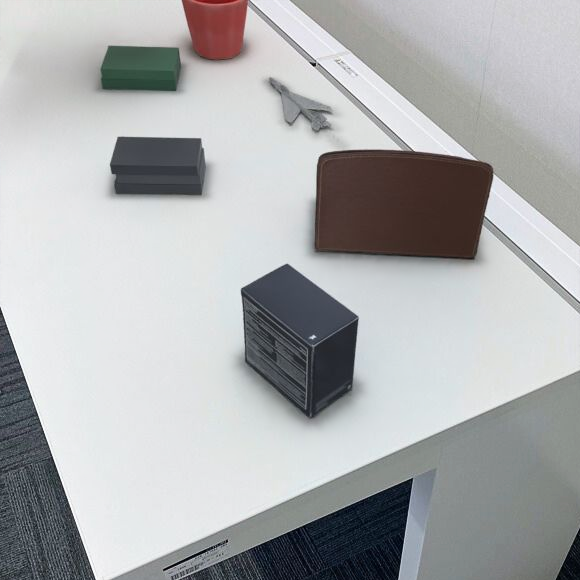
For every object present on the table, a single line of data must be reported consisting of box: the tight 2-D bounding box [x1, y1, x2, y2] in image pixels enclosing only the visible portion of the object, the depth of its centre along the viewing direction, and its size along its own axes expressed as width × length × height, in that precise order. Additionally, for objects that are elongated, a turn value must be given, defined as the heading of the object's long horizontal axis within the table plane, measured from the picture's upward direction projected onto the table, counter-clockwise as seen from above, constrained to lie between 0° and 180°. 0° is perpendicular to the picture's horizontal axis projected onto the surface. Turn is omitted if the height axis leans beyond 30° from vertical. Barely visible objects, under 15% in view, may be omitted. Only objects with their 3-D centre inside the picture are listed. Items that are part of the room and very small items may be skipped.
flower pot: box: [181, 0, 249, 61], centre depth 124 cm, size 11×11×10 cm
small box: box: [240, 263, 360, 419], centre depth 76 cm, size 11×6×10 cm, turn 44°
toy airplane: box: [268, 76, 339, 142], centre depth 114 cm, size 8×21×2 cm, turn 33°
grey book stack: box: [109, 136, 207, 196], centre depth 100 cm, size 11×6×4 cm, turn 93°
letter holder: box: [313, 148, 495, 260], centre depth 92 cm, size 10×20×14 cm, turn 90°
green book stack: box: [100, 45, 182, 92], centre depth 118 cm, size 11×8×3 cm
